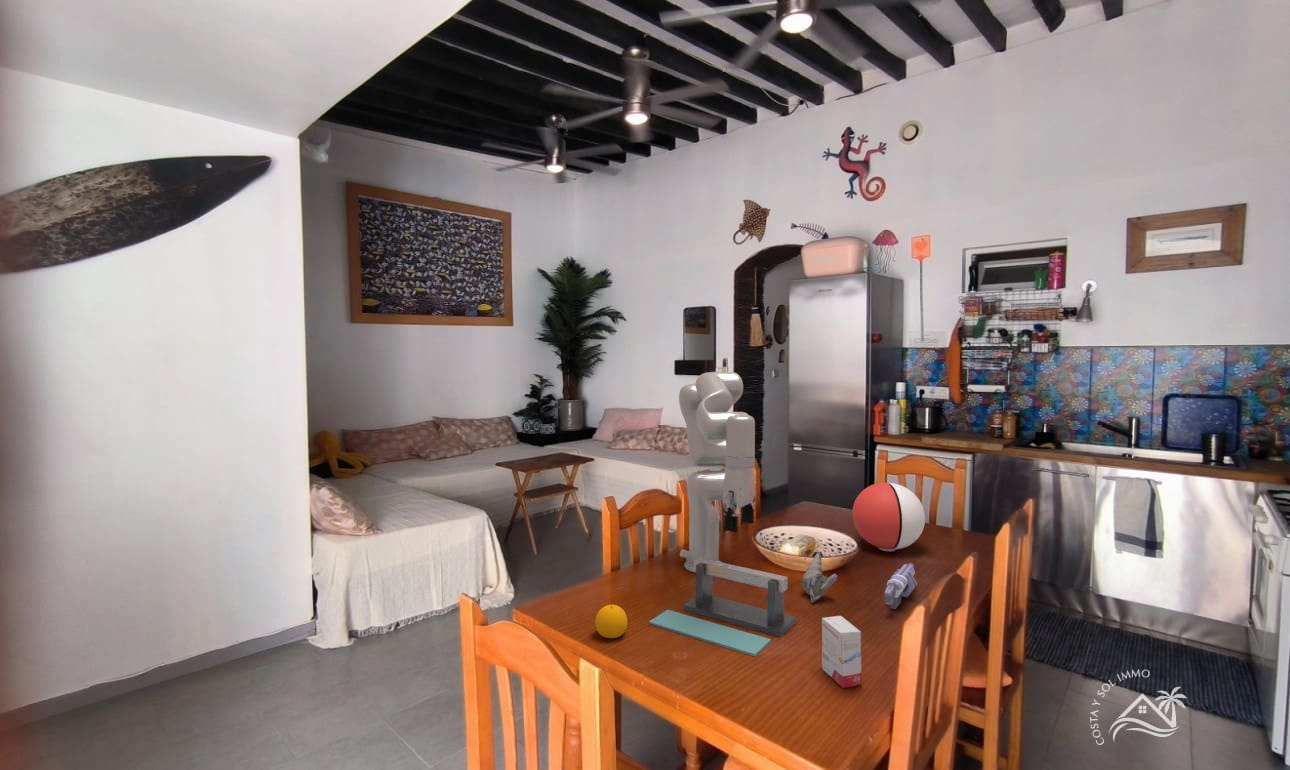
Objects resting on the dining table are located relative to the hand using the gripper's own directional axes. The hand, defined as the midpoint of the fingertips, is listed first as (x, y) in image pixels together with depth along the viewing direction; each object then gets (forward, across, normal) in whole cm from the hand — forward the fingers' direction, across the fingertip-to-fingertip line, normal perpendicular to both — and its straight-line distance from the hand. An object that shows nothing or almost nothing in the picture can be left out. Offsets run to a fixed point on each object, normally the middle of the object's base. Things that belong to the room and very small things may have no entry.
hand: (739, 526), depth 165 cm
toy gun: (+24, -36, +32) cm, 54 cm away
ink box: (+25, +14, +32) cm, 43 cm away
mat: (+24, +12, -2) cm, 28 cm away
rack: (+24, 0, 0) cm, 24 cm away
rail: (+14, 0, 0) cm, 14 cm away
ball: (+24, -81, +18) cm, 87 cm away
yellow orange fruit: (+25, +28, -21) cm, 43 cm away
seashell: (+24, -27, +12) cm, 39 cm away
